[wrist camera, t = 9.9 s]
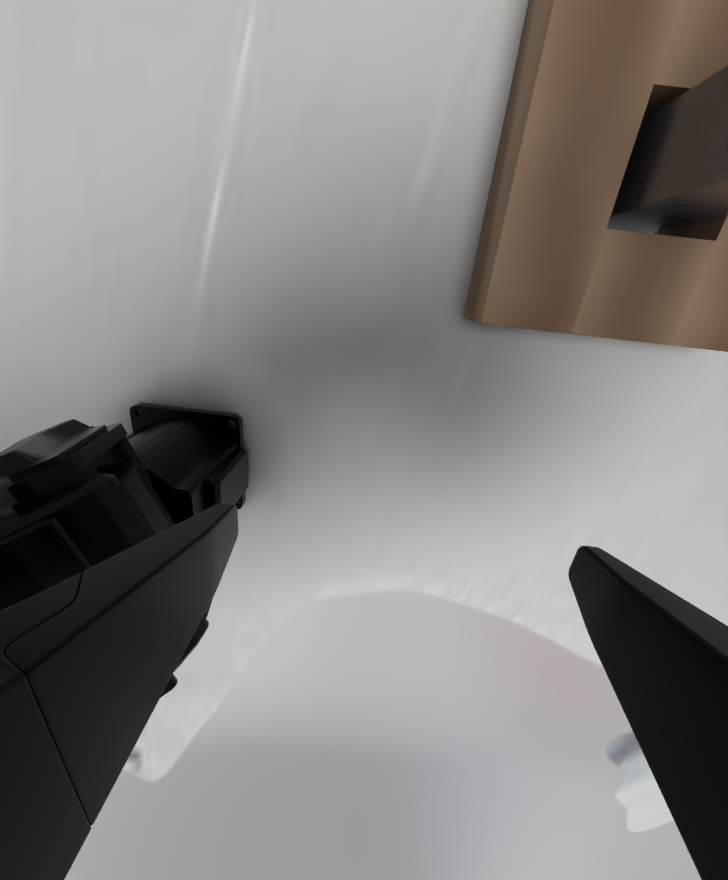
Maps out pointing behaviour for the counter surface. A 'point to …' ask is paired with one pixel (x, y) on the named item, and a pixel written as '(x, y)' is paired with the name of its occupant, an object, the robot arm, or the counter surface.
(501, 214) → the socket block
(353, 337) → the counter surface
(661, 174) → the long pin
